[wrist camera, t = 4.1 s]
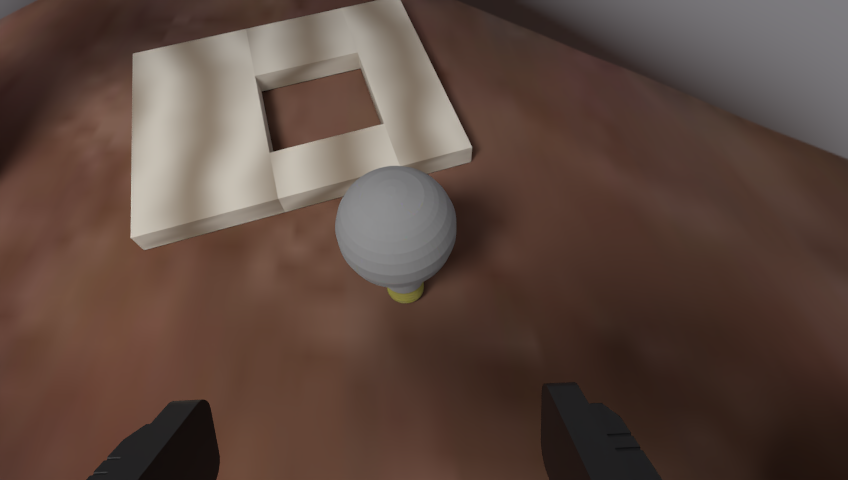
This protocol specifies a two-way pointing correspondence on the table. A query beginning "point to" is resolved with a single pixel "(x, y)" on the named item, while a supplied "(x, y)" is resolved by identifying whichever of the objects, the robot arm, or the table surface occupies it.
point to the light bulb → (396, 229)
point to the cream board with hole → (248, 128)
